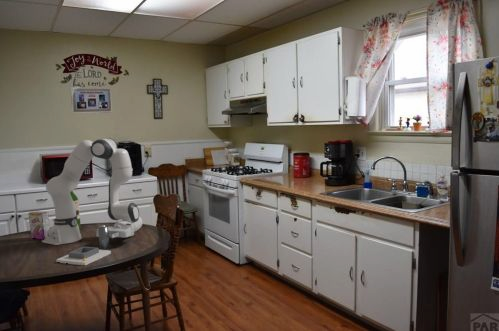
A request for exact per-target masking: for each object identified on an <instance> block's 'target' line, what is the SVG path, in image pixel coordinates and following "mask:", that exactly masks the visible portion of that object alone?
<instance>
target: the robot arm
mask: <svg viewBox="0 0 499 331" xmlns="http://www.w3.org/2000/svg"><path fill="white" fill-rule="evenodd" d="M94 157H95V158H98V159H100V160H101V159H102V160H109V161H110V164H111V177H110V178H109V180H108V208H107V216H108V217H109V218H110V220H112V221H117V222H116V223H114V224H113V226H108V233H109V239H110V238H111V239H114V238H129V237H133V236H134V235H135V232H137V231H138V230H140V229H141V227H142V226H143V219H142V217H141V216H140V209H139V207H138V205H137V204H136V203H134V202H120V201H119V200H120V199H119V198H120V197H119V194H120V192H119V190H120V187H121V186H123V185H124V184H125V183H127V182H128V181H130V180H131V178H132V176H133V167H132V161H131V158H130V155H129V152H128V150H126V149H125V148H118V144H117V142H116V141H115V139H112V138H110V137H107V138H106V137H103V138H99V139H96V140H94V141H92V140H89V139H82V140H81V141H80V142H79V143H78V144H77V145H76V146H75V147H74V148H73V150H72V152H71V153H70V154H69V155H68V158H67V159H66V160H65V163H64V166H63V170H62V171H61V173H60V174H59V175H57V176H54V177H52V178H51V179H49V180H47V183H46V185H45V190H46V192H47V193H48V194H49V195H50V198H51V200H52V202H53V206H54V215H55V218H53V219H52V222H53V225H52V226H50V229H49V230H48V231H47V232H46V239H44V240H43V239H41V243H45V244H49V245H53V246H58V245H64V244H66V245H67V244H70V243H71V244H72V243H76V242H78V241H80V240H82V234H81V232H80V229H79V226H78V224H77V222H78V218H77V215H76V207H75V202H74V201H73V199H72V197H71V194H70V192H71V191H73V192H74V190H75V189H77V187H78V186H79V182H80V180H81V177H82V175H83V173H84V172H85V170H86V169H87V167H88V166H89V164H90V163H91V162H92V159H93V158H94ZM96 237H97V238H99V232H98V228H97V229H96Z"/></svg>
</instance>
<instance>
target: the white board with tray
mask: <svg viewBox="0 0 499 331" xmlns="http://www.w3.org/2000/svg"><path fill="white" fill-rule="evenodd" d="M110 254H112V251H111V250H109V249H107V250H100V247H92V246H81V247H79V248H77V249H73V250H72V251H70V252H68V254H66V255H64V256H62V257H59V258H57V259H56V261H55V262H56V263H57V262H60V263H59V264H66V263H68V264H69V265H78V266H84V265H85V266H87V265H90V264H91V263H93V262H96V261H99V260H100V259H103V258H104V257H106V256H109V255H110ZM68 264H67V265H68Z"/></svg>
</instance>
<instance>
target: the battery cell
mask: <svg viewBox="0 0 499 331" xmlns="http://www.w3.org/2000/svg"><path fill="white" fill-rule="evenodd" d="M108 227H109V226H108V225H105V224H103V225H101V226H98V227H97V229H98V232H99V237H98V241H99V242H98V243H99V250H109V249H110V248H111V245H110V236H109V233H108Z"/></svg>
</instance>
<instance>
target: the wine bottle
mask: <svg viewBox="0 0 499 331" xmlns="http://www.w3.org/2000/svg"><path fill="white" fill-rule="evenodd" d="M70 194H71V197H72V199H73V201H74V202H75V207H76V215H77V218H78V222H77V224H78V226H79V230H81V229H82V225H81V215H80V214H81V213H80V205H79V204H80V203H79V198H78V196H77V195H76V194H75V192H74V190H73V191H71V192H70Z"/></svg>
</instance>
